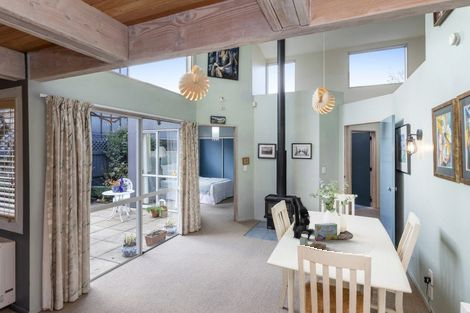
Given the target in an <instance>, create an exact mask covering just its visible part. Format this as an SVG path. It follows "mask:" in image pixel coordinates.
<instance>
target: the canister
mask: <svg viewBox="0 0 470 313" xmlns="http://www.w3.org/2000/svg"><path fill="white" fill-rule="evenodd" d="M292 217H293V223H294V222H295V216H294V214H293V215H292ZM299 219H300V215H299ZM308 219H309V220H310V219H311V215H309V217H308ZM309 227H310V224H309V225H307V229H310V228H309ZM303 233H304V234H305V233H308V232H307V231H303V232H301V234H303Z"/></svg>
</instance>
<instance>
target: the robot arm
mask: <svg viewBox="0 0 470 313" xmlns="http://www.w3.org/2000/svg"><path fill="white" fill-rule="evenodd" d="M290 203H291V205H292V206H293V215H294V216H295V222H294V221H293V226H292V232H293V238H294V239H297V240H298V239H299V240H300V238H301V237H303V236H302V233H301V232H303V231H307V232H306V233H307V241H309V240H310V237H311V235H312V234H315V228H314V229H313V228H309V229H307V225H309V226H310V224H311V221H310V220H309V219H308V217H309V216H310V214H309V211H308V209H307V207H306V206H304V204H303V202H302V199H301V197H300V196H299V197H291V199H290ZM299 215H300V219H299Z"/></svg>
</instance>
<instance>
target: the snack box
mask: <svg viewBox="0 0 470 313" xmlns="http://www.w3.org/2000/svg"><path fill="white" fill-rule="evenodd" d="M314 240H315V241H317V242H318V241H319V242H320V241H321V242H322V241H330V240H331V241H333V240H338V224H337V223H335V222H326V223H314Z"/></svg>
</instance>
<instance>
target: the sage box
mask: <svg viewBox="0 0 470 313" xmlns="http://www.w3.org/2000/svg"><path fill="white" fill-rule="evenodd" d="M299 245H300V246H302V245H306V246H307V245H308V236H307V237H306V236H302V237H301V238H300V239H299Z"/></svg>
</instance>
